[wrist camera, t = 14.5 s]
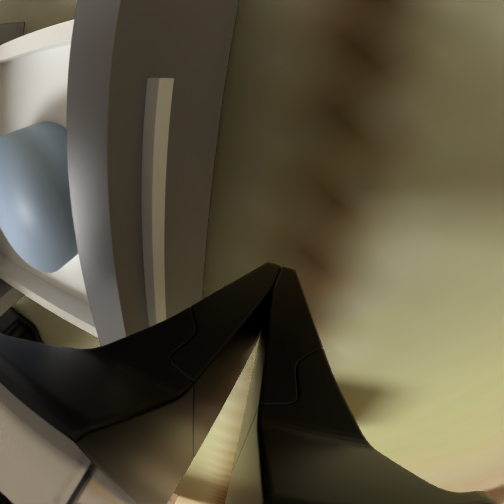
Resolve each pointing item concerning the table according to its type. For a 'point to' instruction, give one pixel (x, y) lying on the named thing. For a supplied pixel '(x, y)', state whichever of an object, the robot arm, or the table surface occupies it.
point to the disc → (37, 196)
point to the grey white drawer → (125, 153)
